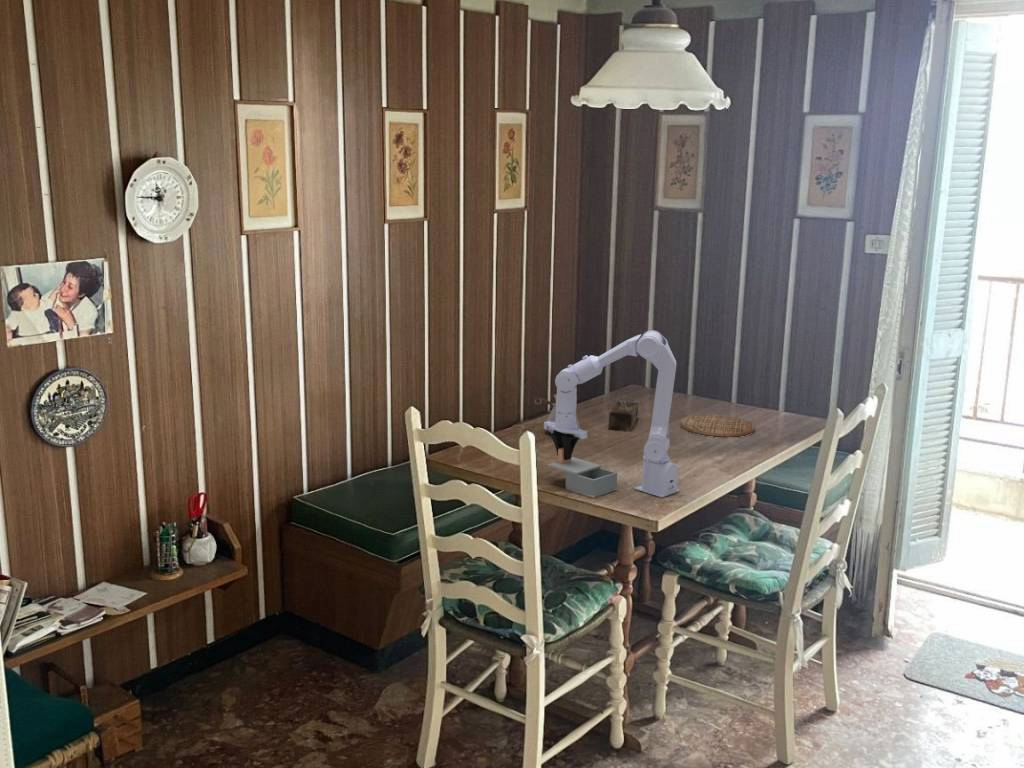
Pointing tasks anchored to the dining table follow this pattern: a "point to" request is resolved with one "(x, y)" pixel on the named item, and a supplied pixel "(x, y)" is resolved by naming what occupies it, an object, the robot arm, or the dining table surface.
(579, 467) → the lid
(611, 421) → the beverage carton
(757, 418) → the dining table surface
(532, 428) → the dining table surface
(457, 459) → the dining table surface
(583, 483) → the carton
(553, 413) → the coffee pot
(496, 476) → the dining table surface
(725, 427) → the trivet
